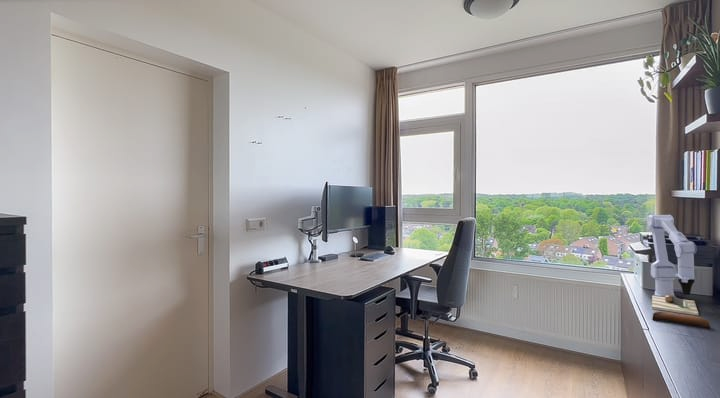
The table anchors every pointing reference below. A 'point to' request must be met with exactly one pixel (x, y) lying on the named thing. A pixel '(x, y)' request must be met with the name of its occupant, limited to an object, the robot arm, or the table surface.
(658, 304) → the board
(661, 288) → the robot arm
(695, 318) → the sunglasses case
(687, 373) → the table surface
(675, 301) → the bronze ball with handle
